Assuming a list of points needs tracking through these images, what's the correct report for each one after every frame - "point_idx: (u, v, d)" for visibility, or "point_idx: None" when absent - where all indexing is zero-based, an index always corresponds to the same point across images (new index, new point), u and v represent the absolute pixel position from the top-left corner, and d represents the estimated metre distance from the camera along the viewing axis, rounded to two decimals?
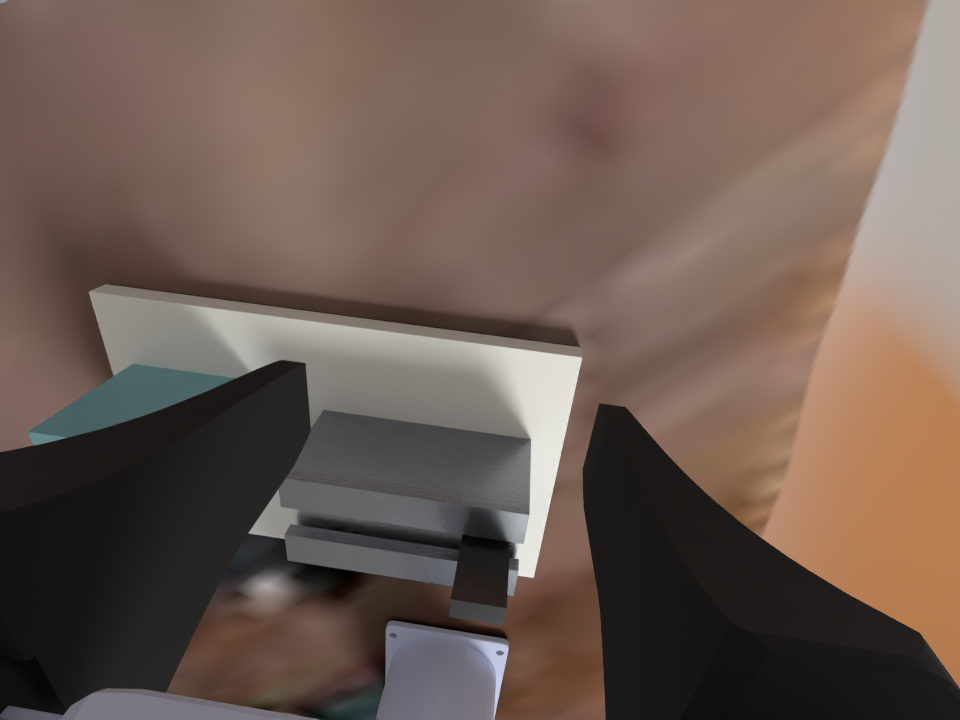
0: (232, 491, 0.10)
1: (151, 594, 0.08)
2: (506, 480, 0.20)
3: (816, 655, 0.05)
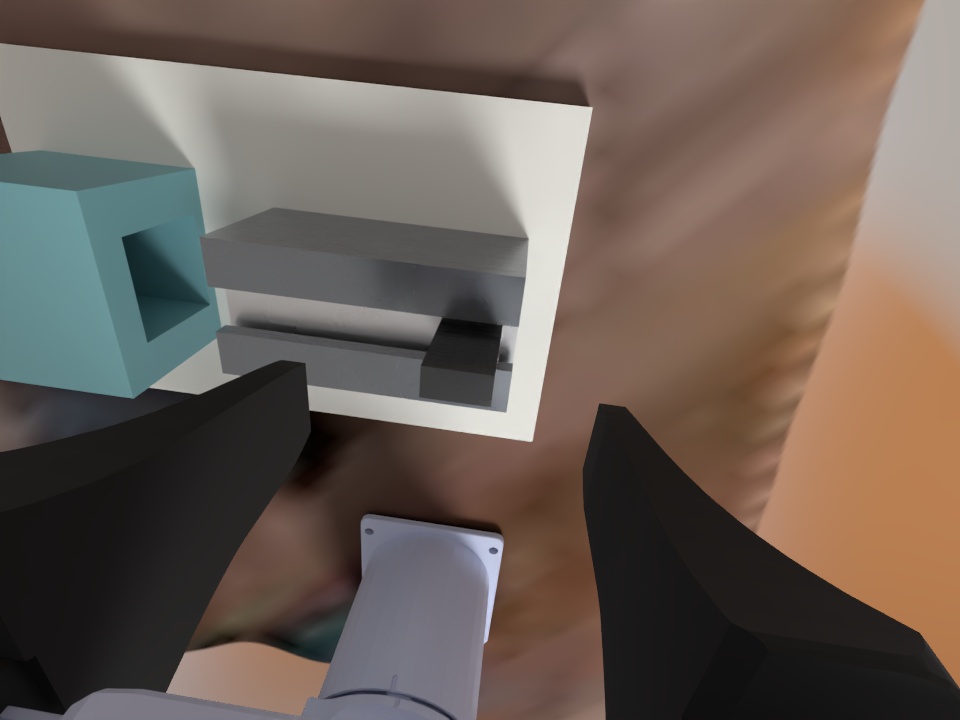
0: (232, 492, 0.10)
1: (151, 594, 0.08)
2: (497, 257, 0.16)
3: (816, 655, 0.05)
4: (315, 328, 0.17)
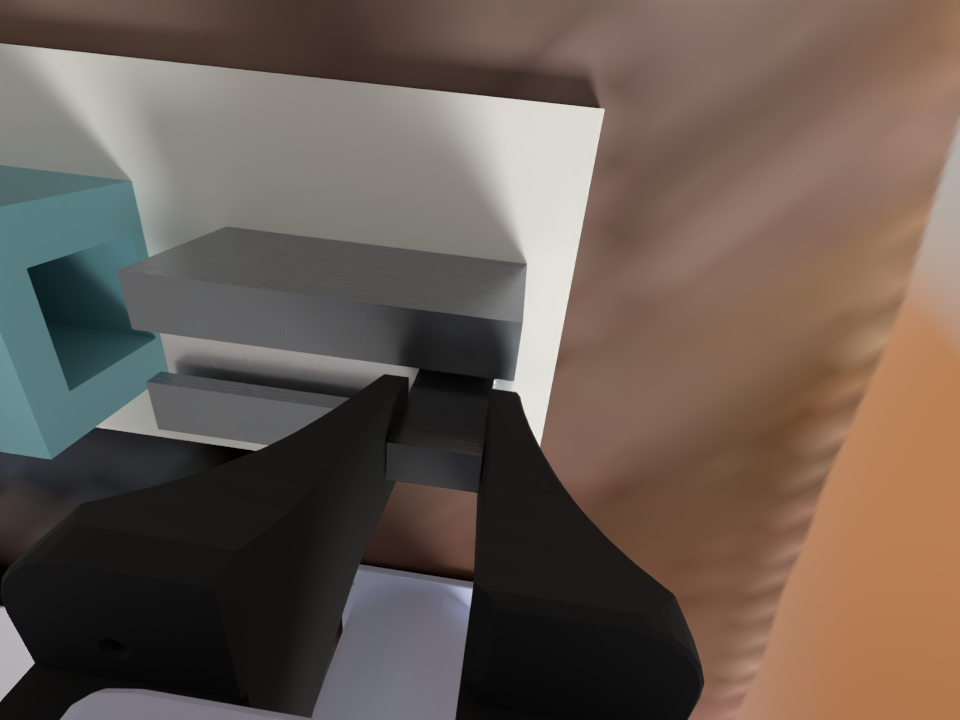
0: (359, 511, 0.09)
1: (310, 620, 0.07)
2: (487, 292, 0.13)
3: (545, 612, 0.05)
4: (269, 375, 0.14)
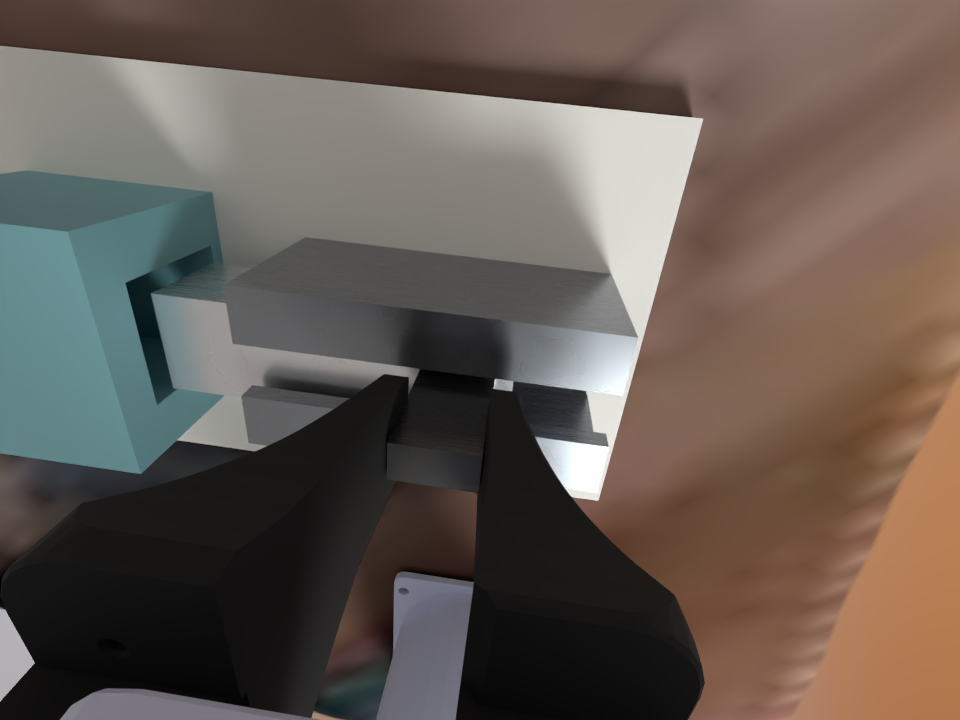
0: (359, 511, 0.09)
1: (310, 620, 0.07)
2: (588, 305, 0.13)
3: (545, 612, 0.05)
4: (269, 376, 0.14)
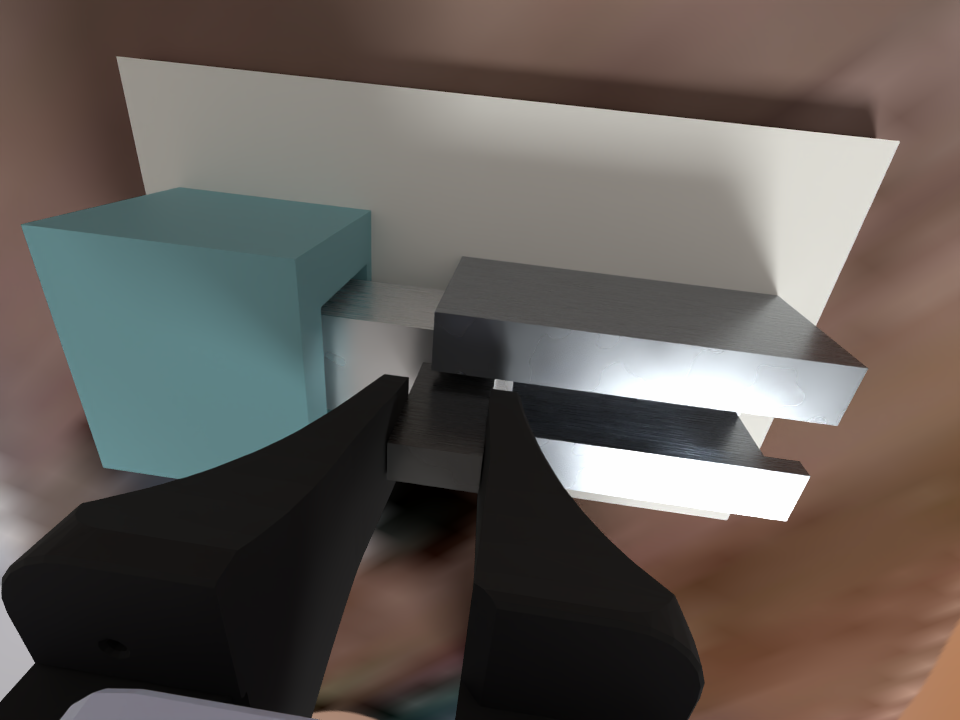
0: (359, 511, 0.09)
1: (310, 620, 0.07)
2: (789, 331, 0.13)
3: (545, 612, 0.05)
4: None
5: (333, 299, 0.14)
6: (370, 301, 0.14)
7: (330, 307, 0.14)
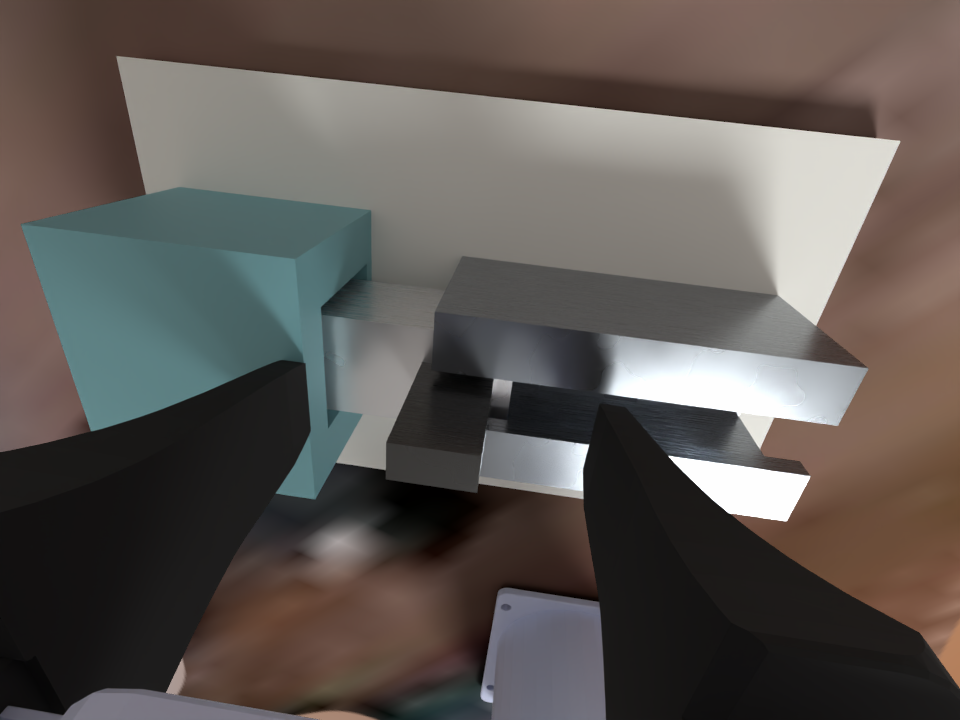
0: (232, 491, 0.10)
1: (151, 594, 0.08)
2: (789, 331, 0.13)
3: (816, 655, 0.05)
4: None
5: (332, 298, 0.14)
6: (369, 301, 0.14)
7: (330, 307, 0.14)
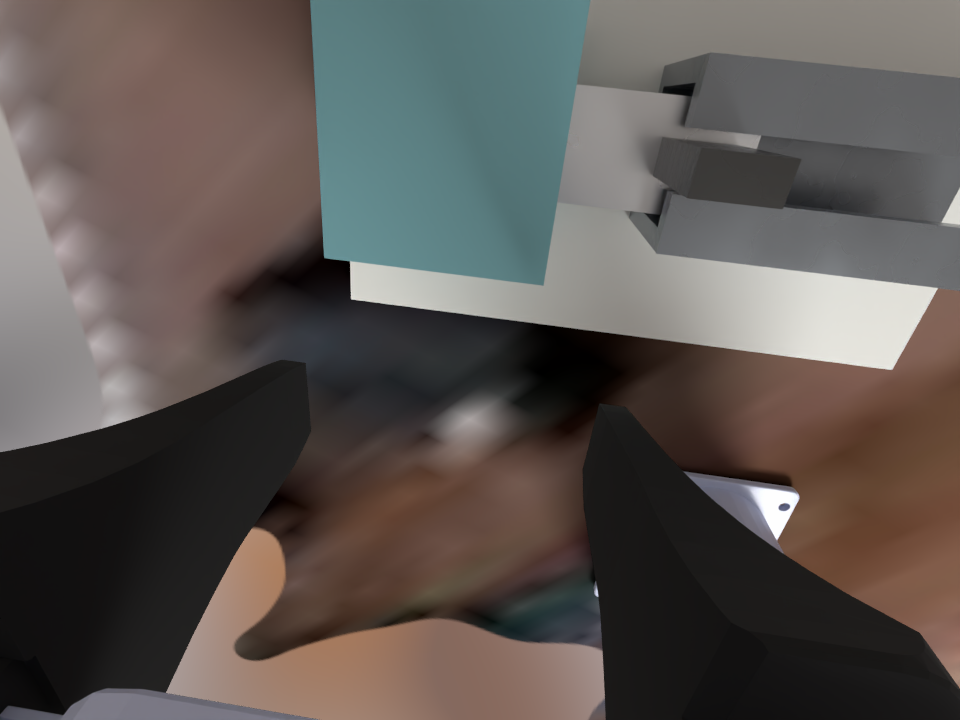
0: (233, 491, 0.10)
1: (151, 594, 0.08)
2: None
3: (815, 655, 0.05)
4: None
5: None
6: None
7: None
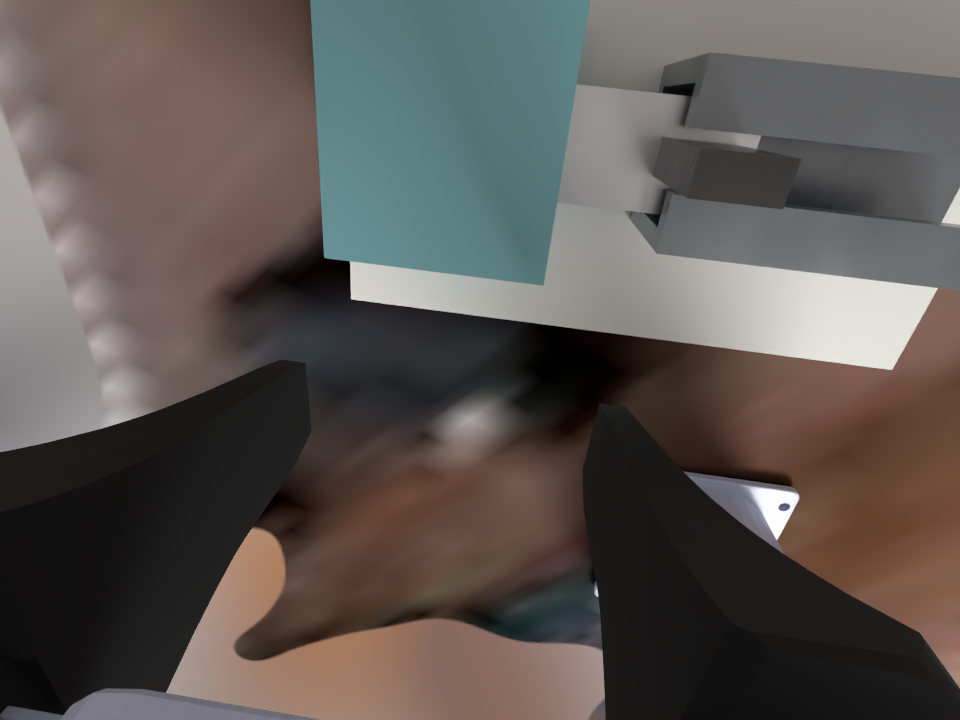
0: (233, 491, 0.10)
1: (151, 594, 0.08)
2: None
3: (815, 655, 0.05)
4: None
5: None
6: None
7: None
